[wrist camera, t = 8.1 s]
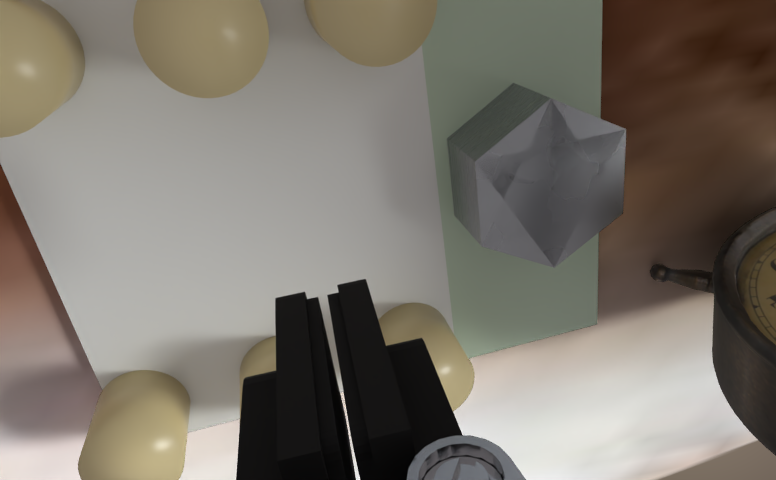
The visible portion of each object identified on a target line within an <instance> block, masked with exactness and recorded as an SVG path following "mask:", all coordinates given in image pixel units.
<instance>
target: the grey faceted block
mask: <svg viewBox="0 0 776 480" xmlns="http://www.w3.org/2000/svg"><path fill="white" fill-rule="evenodd" d="M447 146H448V156H449V166H450V176H451V186H452V196H453V206H454V216H455V217H456V218H457V219H458V220H459V221H460V222H461V224H462V225H463V226H464V227H465V228H466V229H467V230H468V231H469V233H470V234H471V235H472V236H473V237H474V238H475V239H476V241H477V242H478V243H479V244H480V245H481V246H482V247H485V248H489V249H492V250H495V251H499V252H502V253H506V254H509V255H512V256H516V257H519V258H523V259H526V260H529V261H533V262H536V263H540V264H543V265H547V266H550V267H553V268H555V267H556V266H557V265H559V264H560V263H561V262H562V261H564V260H565V259H566V258H567V257H569V256H570V255H571V254H572V253H574V252H575V251H576V250H577V249H579V248H580V247H581V246H582V245H584V244H585V243H586V242H587V241H589V240H590V239H591V238H593V237H594V236H595V235H596V234H598V233H599V232H600V231H601V230H603V229H604V228H605V227H606V226H608V225H609V224H610V223H611V222H613V221H614V220H615V219H616V218H618V217H619V216H620V215H621V214H623V202H624V175H625V149H626V129H624V128H622V127H620V126H617V125H615V124H612V123H610V122H608V121H605V120H603V119H600V118H598V117H595V116H593V115H591V114H588V113H586V112H583V111H581V110H578V109H576V108H574V107H571V106H569V105H566V104H564V103H561V102H559V101H557V100H554V99H552V98H549V97H547V96H544V95H542V94H540V93H537V92H535V91H532V90H530V89H527V88H525V87H523V86H520V85H518V84H515V83H512V84H511V85H510V86H509V87H508V88H507V89H505V90H504V91H503V92H502V93H501V94H499V95H498V96H497V97H496V98H495V99H493V100H492V101H491V102H490V103H489V104H487V105H486V106H485V107H484V108H483V109H482V110H480V111H479V112H478V113H477V114H476V115H474V116H473V117H472V118H471V119H470V120H468V121H467V122H466V123H465V124H464V125H462V126H461V127H460V128H459V129H458V130H457V131H455V132H454V133H453V134H452V135H451V136H449V137H448V138H447Z"/></svg>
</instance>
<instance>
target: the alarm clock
mask: <svg viewBox="0 0 776 480" xmlns="http://www.w3.org/2000/svg"><path fill="white" fill-rule="evenodd" d="M650 273H651V276H652V277H653V278H654V279H655V280H657V281H661V282H664V281H667V280H669V281H672V282H674V283H678V284H681V285H684V286H687V287H690V288H692V289H696V290H702V291H706V292H711V293H714V315H713V346H712V355H713V364H714V368H715V372H716V376H717V379H718V382H719V385H720V387H721V390H722V392H723V394H724V396H725V398H726V399H727V401H728V403H729V405H730V406H731V408H732V409H733V411H734V412H735V414H736V415H737V416H738V418H739V419H740V420H741V421H742V423H743V424H744V425H745V426H746V428H747V429H748V430H749V431H750V432H751V433H752V434H753V435H754V436H755V437H756V438H757V439H758V440H759V441H760V442H761V443H762V444H763V445H764V446H765V447H766V448H768V449H769V450H770V451H771V452H772V453H773V454H774V455H776V207H774V208H772V209H770V210H768V211H765V212H763V213H761V214H760V215H758V216H756V217H755V218H753V219H751V220H750V221H748V222H747V223H745V224H744V225H743V226H741V227H740V228H739V229H738V230H737V231H736V232H735V233H733V234H732V235H731V236H730V237H729V238H728V239H727V241H726V242H725V243H724V244H723V246H722V248H721V249H720V251H719V253H718V255H717V257H716V260H715V263H714V269H713V272H706V271H702V270H677V269H670V268H667V267H666V266H664V265H663V264H657V265H654V266H653V267H652V269H651V270H650Z"/></svg>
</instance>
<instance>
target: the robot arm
mask: <svg viewBox="0 0 776 480" xmlns="http://www.w3.org/2000/svg"><path fill="white" fill-rule="evenodd" d="M337 287H338V291H339V292H338V293H333V294H329V295H327V297H328V303H329V309H330V314H331V320H332V326H333V332H334V338H335V344H336V350H337V356H338V362H339V368H340V374H341V379H342V385H343V391H344V397H345V403H346V409H347V415H348V421H349V427H350V432H351V438H352V443H353V448H354V453H355V457H356V462H357V466H358V471H359V475H360V480H526V479H525V478H524V476H523V475H522V474H521V472H520V471H519V469H518V468H517V467H516V465H515V464H514V462H513V461H512V460H511V458H510V457H509V456H508V455H507V454H506V453H505V452H504V451H503V450H502V449H501V448H500V447H499V446H497V445H496V444H494V443H492V442H490V441H488V440H486V439H483V438H478V437H474V436H463V435H462V433H461V430H460V428H459V426H458V423H457V421H456V418H455V416H454V413H453V411H452V408H451V406H450V403H449V401H448V398H447V396H446V393H445V391H444V389H443V386H442V384H441V381H440V379H439V376H438V374H437V371H436V369H435V366H434V364H433V361H432V359H431V357H430V354H429V352H428V349H427V347H426V344H425V342H424V340H423V339H422V338H418V339H414V340H409V341H405V342H400V343H396V344H391V345H387V346H386V344H385V341H384V337H383V334H382V331H381V327H380V324H379V321H378V318H377V314H376V311H375V308H374V304H373V301H372V298H371V294H370V291H369V288H368V284H367V281H366V279H362V280H357V281H353V282H348V283H343V284H339V285H337ZM275 327H276V371H271V372H267V373H262V374H258V375H254V376H249V377H245V378H244V380H243V388H242V403H241V418H240V433H239V447H238V462H237V477H236V480H356V478H355V472H354V466H353V460H352V453H351V447H350V441H349V435H348V429H347V424H346V418H345V413H344V409H343V404H342V400H341V395H340V391H339V387H338V382H337V378H336V373H335V369H334V364H333V360H332V356H331V351H330V347H329V342H328V338H327V333H326V329H325V325H324V320H323V316H322V311H321V307H320V303H319V299H318V297H315V298H310V299H307V296H306V293H305V292H301V293H296V294H292V295H287V296H282V297H277V298H275Z"/></svg>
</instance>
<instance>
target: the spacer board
mask: <svg viewBox="0 0 776 480" xmlns="http://www.w3.org/2000/svg"><path fill="white" fill-rule="evenodd" d="M601 62H602V0H0V164H1V166H2V168H3V171H4V173H5V175H6V177H7V180H8V182H9V184H10V186H11V188H12V191H13V193H14V195H15V197H16V200H17V202H18V204H19V206H20V208H21V211H22V213H23V215H24V217H25V220H26V222H27V224H28V226H29V228H30V231H31V233H32V235H33V237H34V240H35V242H36V244H37V246H38V248H39V251H40V253H41V255H42V257H43V260H44V262H45V264H46V266H47V269H48V271H49V273H50V275H51V277H52V280H53V282H54V284H55V286H56V289H57V291H58V293H59V295H60V297H61V300H62V302H63V304H64V306H65V309H66V311H67V313H68V315H69V317H70V320H71V322H72V324H73V326H74V329H75V331H76V333H77V335H78V337H79V340H80V342H81V344H82V346H83V349H84V351H85V353H86V355H87V357H88V360H89V362H90V364H91V366H92V369H93V371H94V373H95V375H96V377H97V380H98V382H99V384H100V386H101V389H102V392H101V394H100V396H99V399H98V402H97V405H96V408H95V411H94V414H93V418H92V421H91V424H90V427H89V430H88V433H87V436H86V439H85V442H84V445H83V449H82V452H81V455H80V458H79V463H78V470H79V475H80V477H81V479H82V480H178V479H179V478H180V476H181V474H182V472H183V468H184V461H185V451H186V442H187V433H189V432H193V431H197V430H200V429H204V428H208V427H212V426H215V425H219V424H223V423H227V422H231V421H234V420H238V419H240V418H241V403H242V388H243V380H244V378H245V377H249V376H254V375H258V374H262V373H267V372H271V371H276V327H275V298H277V297H282V296H287V295H292V294H296V293H301V292H305V293H306V296H307V299H310V298H315V297H318V299H319V303H320V307H321V311H322V316H323V320H324V325H325V329H326V333H327V338H328V342H329V347H330V351H331V356H332V360H333V364H334V369H335V373H336V378H337V382H338V387H339V391H340V392H344V391H343V385H342V379H341V374H340V368H339V362H338V356H337V350H336V344H335V338H334V332H333V326H332V320H331V314H330V309H329V303H328V297H327V295H329V294H333V293H338V292H339V291H338V287H337V285H339V284H343V283H348V282H353V281H357V280H362V279H366V281H367V284H368V288H369V291H370V294H371V298H372V301H373V304H374V308H375V311H376V314H377V318H378V321H379V324H380V327H381V331H382V334H383V337H384V341H385V344H386V346H387V345H391V344H396V343H400V342H405V341H409V340H414V339H418V338H422V339H423V340H424V342H425V344H426V347H427V349H428V352H429V354H430V357H431V359H432V361H433V364H434V366H435V369H436V371H437V374H438V376H439V379H440V381H441V384H442V386H443V389H444V391H445V393H446V396H447V398H448V401H449V403H450V406H451V408H452V411H454V410H456V409H457V408H458V407H459V406H461V404H462V403H463V402H464V401H465V400H466V398H467V397H468V395H469V394H470V392H471V390H472V387H473V383H474V370H473V366H472V364H471V362H470V360H469V359H468V358H472V357H476V356H479V355H483V354H487V353H491V352H495V351H498V350H502V349H506V348H510V347H513V346H517V345H521V344H525V343H528V342H532V341H536V340H540V339H544V338H547V337H551V336H555V335H559V334H562V333H566V332H570V331H574V330H577V329H581V328H585V327H589V326H593V325H596V324H597V311H598V248H599V233H598V234H596V235H595V236H594V237H593V238H591V239H590V240H589V241H587V242H586V243H585V244H584V245H582V246H581V247H580V248H579V249H577V250H576V251H575V252H574V253H572V254H571V255H570V256H569V257H567V258H566V259H565V260H564V261H562V262H561V263H560V264H559V265H557V266H556V267H555V268H553V267H550V266H547V265H543V264H540V263H536V262H533V261H529V260H526V259H523V258H519V257H516V256H512V255H509V254H506V253H502V252H499V251H495V250H492V249H489V248H485V247H482V246H481V245H480V244H479V243H478V242H477V241H476V239H475V238H474V237H473V236H472V235H471V234H470V233H469V231H468V230H467V229H466V228H465V227H464V226H463V225H462V224H461V222H460V221H459V220H458V219H457V218H456V217H455V216H454V206H453V196H452V186H451V176H450V166H449V156H448V146H447V138H448V137H449V136H451V135H452V134H453V133H454V132H455V131H457V130H458V129H459V128H460V127H461V126H462V125H464V124H465V123H466V122H467V121H468V120H470V119H471V118H472V117H473V116H474V115H476V114H477V113H478V112H479V111H480V110H482V109H483V108H484V107H485V106H486V105H487V104H489V103H490V102H491V101H492V100H493V99H495V98H496V97H497V96H498V95H499V94H501V93H502V92H503V91H504V90H505V89H507V88H508V87H509V86H510V85H511V84H512V83H515V84H518V85H520V86H523V87H525V88H527V89H530V90H532V91H535V92H537V93H540V94H542V95H544V96H547V97H549V98H552V99H554V100H557V101H559V102H561V103H564V104H566V105H569V106H571V107H574V108H576V109H578V110H581V111H583V112H586V113H588V114H591V115H593V116H595V117H598V118H600V119H601Z"/></svg>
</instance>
